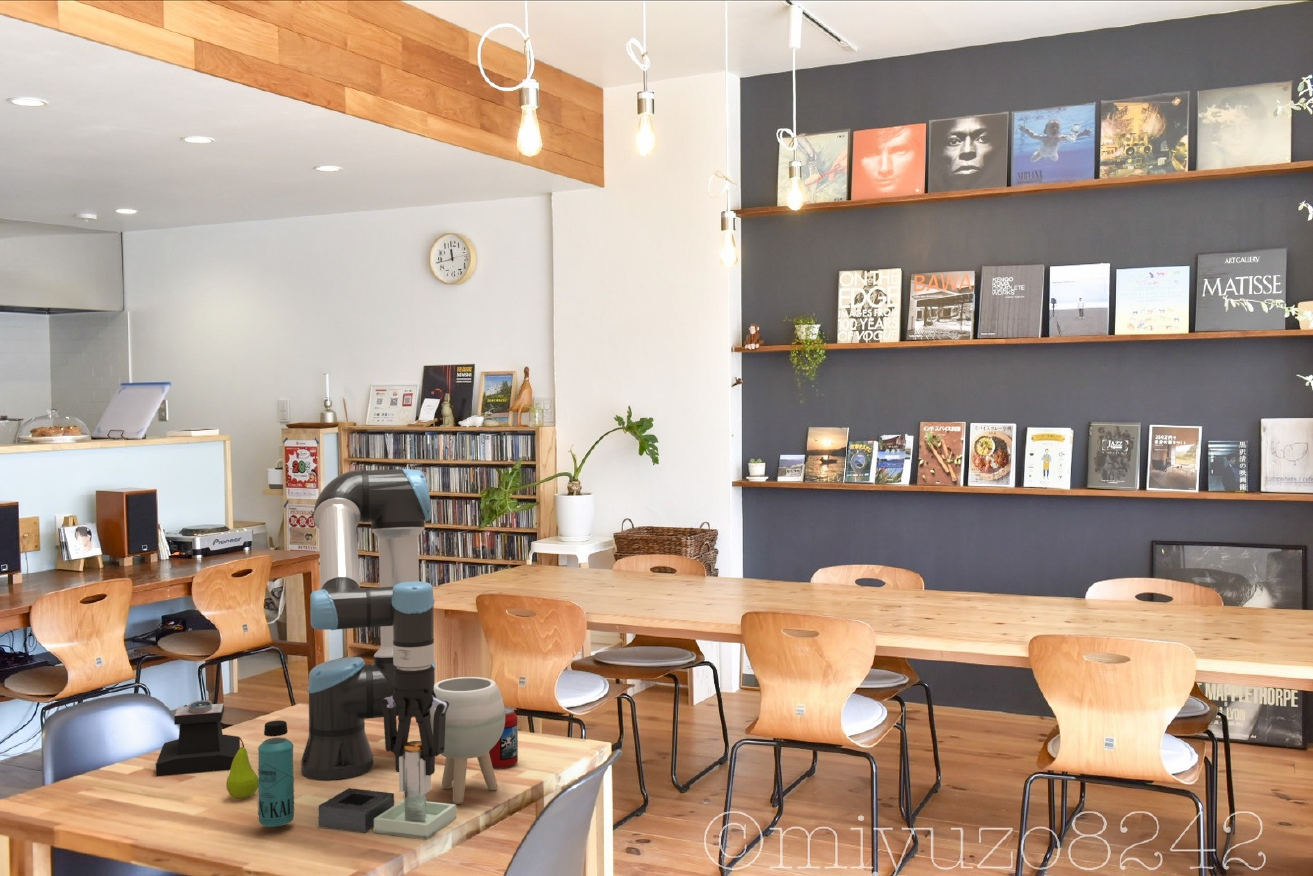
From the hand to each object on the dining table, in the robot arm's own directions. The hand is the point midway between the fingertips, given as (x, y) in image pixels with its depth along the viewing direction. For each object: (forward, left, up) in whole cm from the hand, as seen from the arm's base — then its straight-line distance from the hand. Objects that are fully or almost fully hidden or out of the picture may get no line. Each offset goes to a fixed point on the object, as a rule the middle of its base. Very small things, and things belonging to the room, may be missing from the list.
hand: (415, 790), depth 208 cm
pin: (0, 0, -5) cm, 5 cm away
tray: (0, 0, -7) cm, 7 cm away
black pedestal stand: (-65, +19, -7) cm, 68 cm away
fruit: (-41, +3, -7) cm, 42 cm away
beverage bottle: (-24, -9, -7) cm, 27 cm away
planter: (+1, +18, -7) cm, 19 cm away
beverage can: (0, +37, -7) cm, 38 cm away
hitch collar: (-12, -1, -7) cm, 14 cm away
